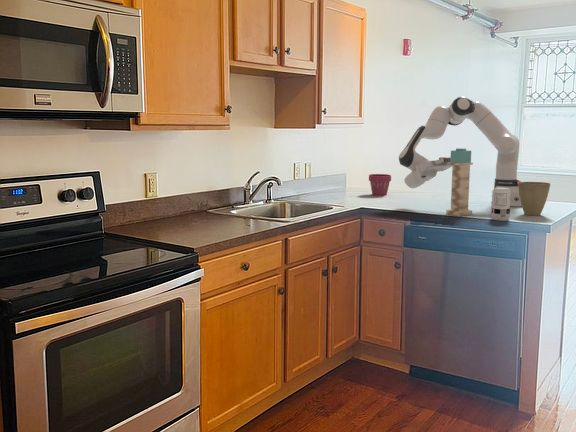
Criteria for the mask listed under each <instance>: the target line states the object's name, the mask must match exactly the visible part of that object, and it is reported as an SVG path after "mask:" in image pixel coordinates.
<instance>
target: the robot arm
mask: <svg viewBox="0 0 576 432" xmlns="http://www.w3.org/2000/svg"><path fill="white" fill-rule="evenodd" d="M466 119H467V120H469V121H471V122H472V123H473V124H474V125H475V127H477V129H478V130H479V131H480V132H481V133H482V134H483V135H484V136H485V138H486V139H488V141H489V143H491V145H492V146H493V147H494V148H495V149H496V150H497V157H496V163H495V178H494V181H493V183H494V184H493V189H494V188H496V187H504V188H510V191H511V199H510V207H522V205H521V200H520V196H519V188H518V182H522V181H521V180H518V179H517V176H518V175H517V174H518V163H519V162H518V160H519V153H520V152H519V151H520V140H519V138H518V136H516V135H514V134H512V133H511V131H509V130H508V128H507V127H506V126H505V125H504V124H503V122H502V121H501V120H500V119H499V118H498V116H496V115H495V114H494V113H493V111H492V110H491V109H489V108H488V107H487V106H486V105H484V103H482V102H480V101H473V100H471V99H469V98H468V97H465V96H458V97H457V98H455V99H454V100H453V101H452V102H451V104H450V105H449V107H446V106H443V105H439V106H438V105H437V106H436V107H435V108H434V109H433V111H432V112H431V114H430V115H429V117H428V119H427V121H426V123H425V124H424V125H420V126H419V127H418V128H417V129H416V131H415V132H414V133H413V135H412V137H411V138H410V139H409V141H408V142H407V145H406V146H405V147H404V148H403V150H402V151H401V152H400V153H399V155H398V160H399V162H398V163H399V164H400V165H401V166H402V167H405V168H406V169H409V170H410V171H411V172H410V173H409V174H407V175H406V176H405V178H404V183H405V185H406V186H407V187H408V188H410V189H416V188H418V187H420V186H422V185H424V184H425V183H426V182H428V181H430V180H432V179H434V178H435V177H436V176H437V173H438V172H444V171H446V170H449V169H450V168H452V165H448V163H450V162H444V161H445V159H444V158H441V159H439V158H438V159H436V160H429V159H428V158H426V157H425V156H423V155H421V154H419V153H418V152H417V151H416V148H417V146H418V145H419V144H420V142H421V140H422V139H426V140H438V139H440V138H442V137H443V135H444V134H445V133H446V129H447V127H448V126H449V125H450V126H454V127H457V126H458V125H460V124H462V123H463V122H464V120H466ZM448 158H451V156H450V157H448ZM490 203H491V204H492V201H491V202H490Z"/></svg>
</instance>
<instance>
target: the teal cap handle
mask: <svg viewBox="0 0 576 432" xmlns="http://www.w3.org/2000/svg"><path fill="white" fill-rule="evenodd" d="M441 158H444V159H445V161H444V162H450V163H472V150H468V149H467V148H463V147H462V148H461V147H459V148H455V149H454V150H450V158H449V157H446V156H445V157H439V158H438V160H439V159H441Z"/></svg>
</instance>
